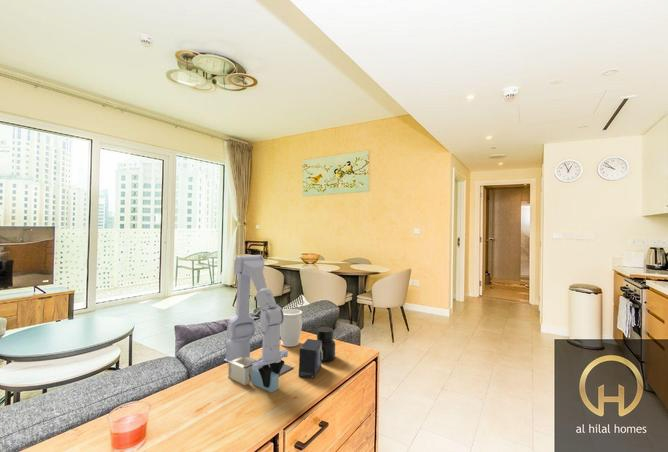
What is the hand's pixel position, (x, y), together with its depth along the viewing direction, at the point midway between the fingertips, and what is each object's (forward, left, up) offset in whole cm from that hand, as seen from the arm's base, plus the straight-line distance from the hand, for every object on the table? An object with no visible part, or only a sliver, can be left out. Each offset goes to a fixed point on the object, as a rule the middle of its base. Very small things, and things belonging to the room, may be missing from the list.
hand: (270, 384), depth 107 cm
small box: (+3, +18, -2) cm, 18 cm away
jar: (-22, +34, -2) cm, 41 cm away
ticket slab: (-3, 0, -1) cm, 3 cm away
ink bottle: (0, +31, -2) cm, 31 cm away
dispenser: (-13, 0, -1) cm, 13 cm away
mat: (-11, +12, -1) cm, 16 cm away
